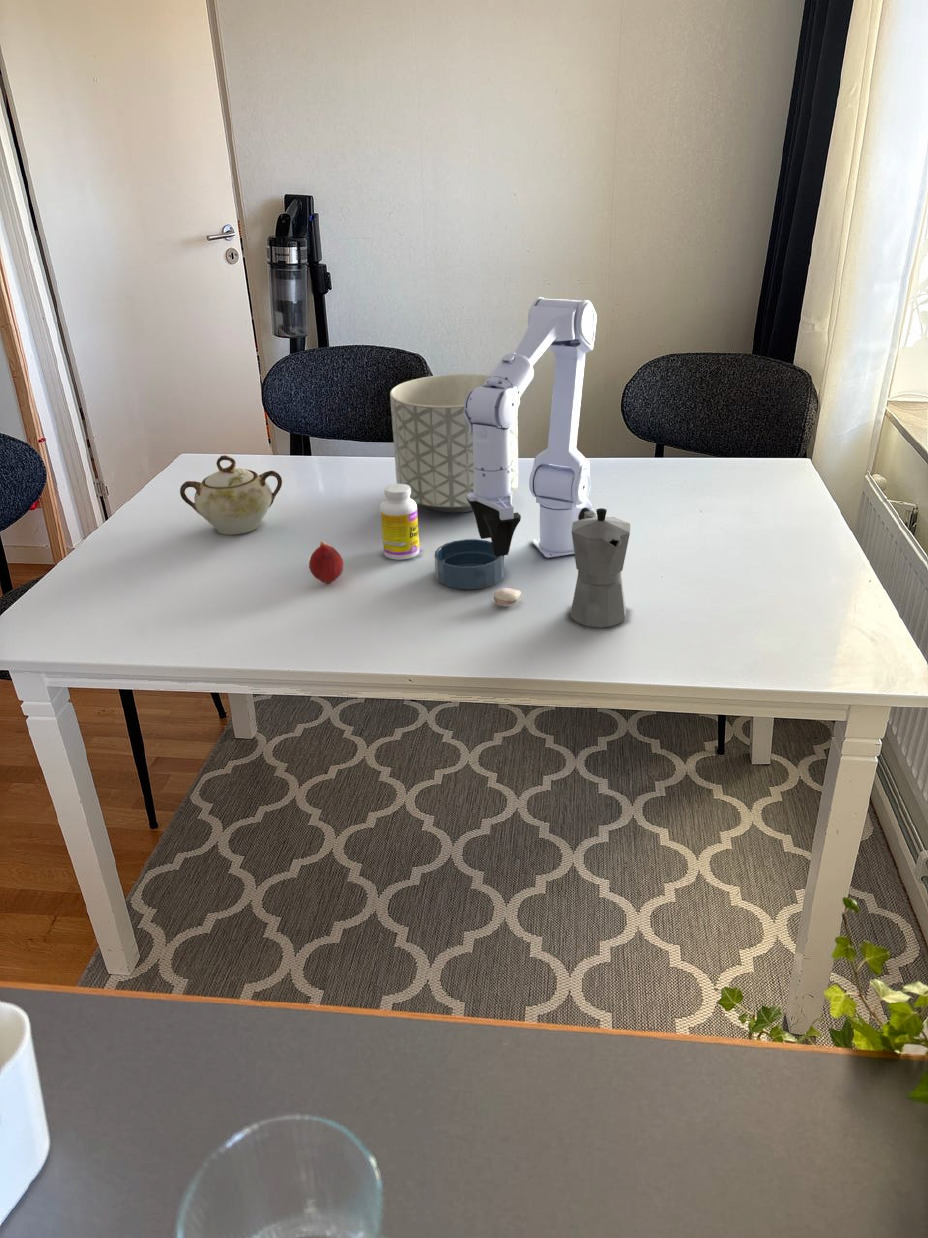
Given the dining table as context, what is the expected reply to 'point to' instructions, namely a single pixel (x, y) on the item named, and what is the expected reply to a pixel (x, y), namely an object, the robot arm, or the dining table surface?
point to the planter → (439, 440)
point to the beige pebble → (506, 596)
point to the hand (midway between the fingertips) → (493, 546)
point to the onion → (326, 563)
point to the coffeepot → (599, 568)
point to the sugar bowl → (232, 498)
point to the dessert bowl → (468, 564)
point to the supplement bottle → (399, 523)
